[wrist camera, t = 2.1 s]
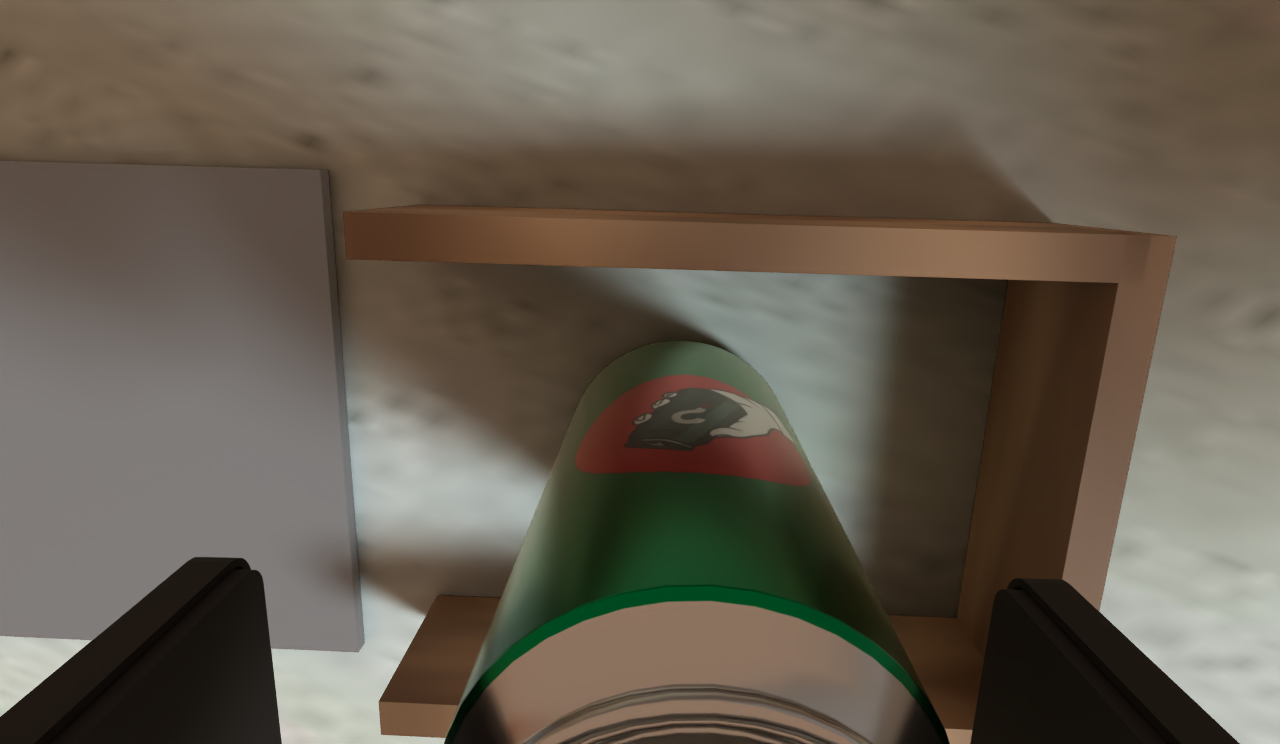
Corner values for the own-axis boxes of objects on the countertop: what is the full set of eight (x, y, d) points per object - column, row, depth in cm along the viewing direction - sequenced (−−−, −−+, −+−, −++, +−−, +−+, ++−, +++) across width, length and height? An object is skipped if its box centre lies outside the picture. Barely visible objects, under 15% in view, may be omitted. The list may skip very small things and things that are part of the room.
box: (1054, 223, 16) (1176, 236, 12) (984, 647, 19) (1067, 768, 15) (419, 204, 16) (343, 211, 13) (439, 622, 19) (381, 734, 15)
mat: (328, 169, 16) (320, 169, 16) (364, 642, 19) (358, 652, 19) (-152, 156, 17) (-172, 155, 16) (-43, 624, 20) (-57, 633, 19)
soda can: (531, 408, 18) (270, 849, 6) (710, 293, 17) (810, 544, 5) (648, 569, 19) (617, 1217, 7) (823, 467, 18) (1121, 1011, 6)
